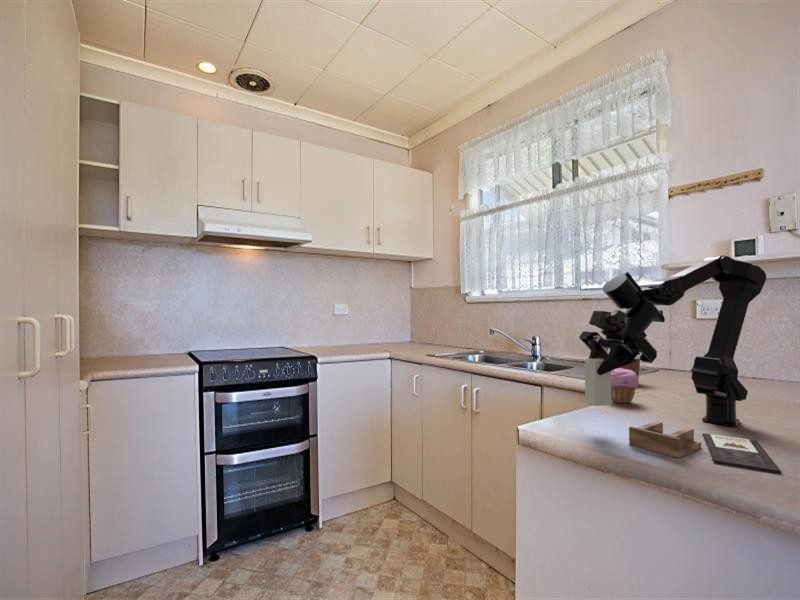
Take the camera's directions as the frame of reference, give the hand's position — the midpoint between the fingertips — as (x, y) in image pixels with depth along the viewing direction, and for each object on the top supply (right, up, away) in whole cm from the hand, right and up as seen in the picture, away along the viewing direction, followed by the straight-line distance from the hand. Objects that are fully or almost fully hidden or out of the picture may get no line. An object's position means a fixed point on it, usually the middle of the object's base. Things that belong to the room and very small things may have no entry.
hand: (592, 372), depth 90 cm
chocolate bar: (+22, -14, -13) cm, 29 cm away
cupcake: (+22, -14, +27) cm, 38 cm away
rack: (+10, -13, -9) cm, 19 cm away
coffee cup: (+39, -14, +55) cm, 69 cm away
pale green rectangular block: (+1, -7, 0) cm, 7 cm away
